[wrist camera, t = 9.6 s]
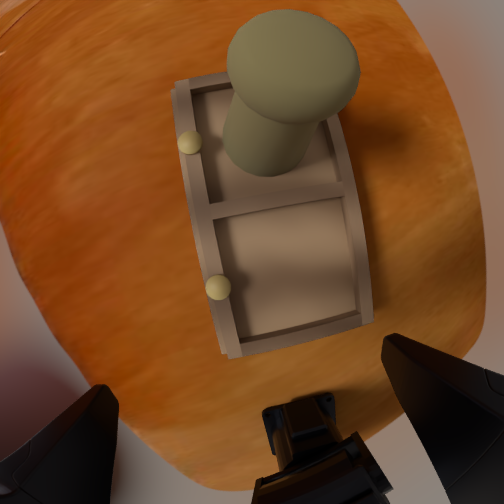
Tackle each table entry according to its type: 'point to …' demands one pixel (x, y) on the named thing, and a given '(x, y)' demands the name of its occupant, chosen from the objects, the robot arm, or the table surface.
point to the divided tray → (271, 231)
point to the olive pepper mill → (284, 87)
